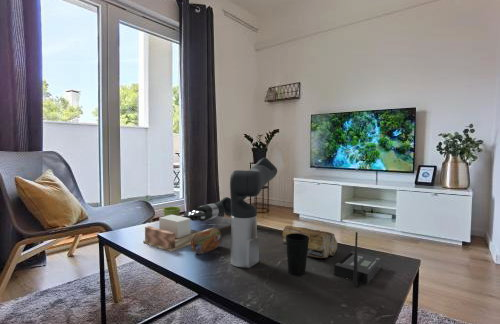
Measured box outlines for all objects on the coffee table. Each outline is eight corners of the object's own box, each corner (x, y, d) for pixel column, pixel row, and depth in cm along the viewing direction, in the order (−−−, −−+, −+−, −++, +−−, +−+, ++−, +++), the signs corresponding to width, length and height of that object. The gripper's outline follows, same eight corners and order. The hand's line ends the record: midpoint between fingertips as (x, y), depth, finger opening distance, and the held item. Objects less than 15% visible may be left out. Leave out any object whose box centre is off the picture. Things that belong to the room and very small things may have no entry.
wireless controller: (346, 260, 105) (347, 215, 104) (386, 270, 97) (388, 221, 96) (324, 279, 90) (325, 226, 89) (369, 293, 81) (371, 235, 80)
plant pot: (162, 222, 153) (162, 206, 152) (180, 221, 155) (180, 206, 155) (162, 227, 144) (162, 210, 143) (181, 226, 146) (181, 209, 146)
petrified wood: (278, 249, 113) (281, 224, 114) (294, 248, 123) (297, 225, 124) (323, 261, 100) (326, 232, 102) (337, 258, 110) (339, 232, 112)
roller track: (207, 238, 128) (207, 223, 127) (171, 251, 110) (171, 234, 110) (180, 231, 138) (180, 217, 137) (143, 242, 120) (143, 227, 120)
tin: (194, 257, 106) (195, 235, 105) (189, 255, 107) (189, 233, 107) (222, 246, 117) (222, 226, 117) (216, 244, 119) (216, 225, 119)
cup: (303, 279, 88) (303, 242, 88) (281, 273, 92) (281, 237, 92) (311, 270, 95) (312, 235, 94) (290, 265, 99) (291, 231, 98)
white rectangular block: (190, 234, 123) (190, 218, 122) (177, 238, 117) (177, 221, 116) (171, 229, 129) (171, 214, 129) (159, 233, 123) (159, 217, 123)
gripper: (197, 203, 143) (171, 208, 129) (217, 206, 136) (191, 212, 122) (197, 217, 144) (171, 224, 129) (217, 221, 136) (191, 229, 122)
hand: (180, 219), depth 126 cm, fingers closed
